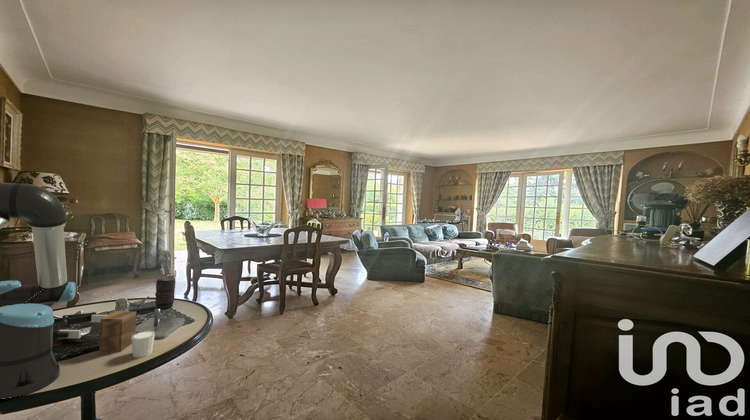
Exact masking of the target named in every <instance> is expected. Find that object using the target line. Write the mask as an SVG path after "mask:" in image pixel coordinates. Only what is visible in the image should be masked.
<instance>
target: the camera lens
mask: <svg viewBox="0 0 750 420" xmlns="http://www.w3.org/2000/svg"><path fill="white" fill-rule="evenodd" d="M175 289H176V278H175V277H174V276H162V277H158V278H156V282H155V295H154V296H155V306H156V309H157V308H161V310H169V309H171V308H172V307H173V305H174V302H175V292H176V291H175Z"/></svg>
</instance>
